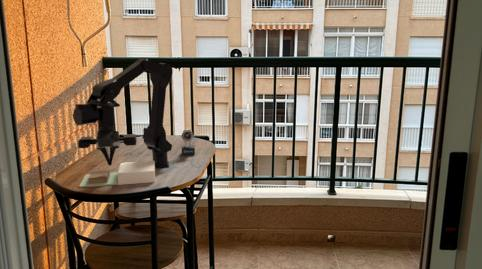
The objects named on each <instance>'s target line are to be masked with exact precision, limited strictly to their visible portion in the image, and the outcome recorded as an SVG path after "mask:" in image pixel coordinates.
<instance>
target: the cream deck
mask: <svg viewBox="0 0 482 269" xmlns="http://www.w3.org/2000/svg"><path fill="white" fill-rule="evenodd" d="M117 172H118V185H119V186H120V185H121V186H122V185H132V184H146V183H147V184H149V183H155V182H156V168H155V161H153V160H145V161H129V162H121V163H120V165H119V167H118V171H117ZM118 185H117V186H118Z"/></svg>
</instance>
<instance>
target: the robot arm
mask: <svg viewBox="0 0 482 269" xmlns="http://www.w3.org/2000/svg"><path fill="white" fill-rule="evenodd" d="M144 73H146V74H149V80H150V82H151V84H152V95H151V96H152V97H151V105H150V119H149V124H148V126H147V127H143V129H142V130H143V132H142V133H143V134H142V139H143V143H144V144H145V146H146V147H147V149H148V150H150V151H151V152H152V161H155V169H156V168H167V167H170V162H169V160H168V152H171V151H172V148H173V145H172V143H171V142H169V141H168V140H167V133H166V132H167V131H166V129H165V126H164V116H165V115H164V114H165V107H166V106H165V104H166V93H167V87H168V85H169V84H170V83H171V81H172V77H173V73H174V72H173V67H172V66H171V65H170V64H169V63H165V62H164V63H163V62H155V61H152V60H149V59H147V58H146V59H145V58H141V59H140V58H139V59H137V60H135V61H134V63H132V64H131V65H129V66H128V67H127V68H125V69H123V70H122V71H121V72H119V73H118V74H117V75H115V76H113V77H111V78H109V79H105V80H103V81H100V82H98V83H96V84H95V85H94V86H93V87H92V92H91V94H90V96H89V97H88V100H87V101H86V103H82V104H81V103H76V104H75V105H74V106H75V108H74V109H73V111H72V112H73V113H72V119H73V121H74V124H75V125H76V126H84V125H91V124H95V123H97V133H96V134H97V135H96V138H93V136H92V135H91V136H82V137H80V138H79V140H78V141H77V147H78V149H88V148H89V147H90V146H92V145H96V150H99V151H100V152H101V153H102V154H103V156H104V158H105V160H106V162H107V165H108V166H112V164H113V160H114V157H115V156H114V155H115V153H116V150H117V149H120V146H121V144H124V145H125V146H127V147H129V146H136V145H137V142H138V141H137V140H138V139H137V135H136V134H135V133H134V134H133V133H132V134H124V135H123V137H120V131H118V130H117V126H116V125H117V124H116V112H115V108H117V107H121V105H120V103H118V102H117V101H116V100H115V99H116V98H117V97H118V96H119V95H120V93H121V91H122V89H123V88H124V87H126V86H127V85H129V84H130V83H131V82H132V81H134V80H135V79H137V78H138V77H140V76H141V75H142V74H144Z"/></svg>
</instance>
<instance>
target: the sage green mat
mask: <svg viewBox="0 0 482 269" xmlns="http://www.w3.org/2000/svg"><path fill="white" fill-rule="evenodd" d="M90 174H91V173H87V174H85V175H84V177H83V179H82V181H81V182H80V183H79V185H78V187H79V188H91V187H93V188H95V187H107V186H118V171H116V172H114V171H113V172H110V176H109V180H108V183H95V184H89V180H88V178H89V176H90Z"/></svg>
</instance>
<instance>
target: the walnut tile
mask: <svg viewBox="0 0 482 269" xmlns="http://www.w3.org/2000/svg"><path fill="white" fill-rule="evenodd" d="M110 173H111V170H110V168H107V169H95V170H93V169H92V170H91V172H90V173H89V174H90V176H89V178H88V180H89V184H95V183H108V180H109V176H110Z"/></svg>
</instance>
